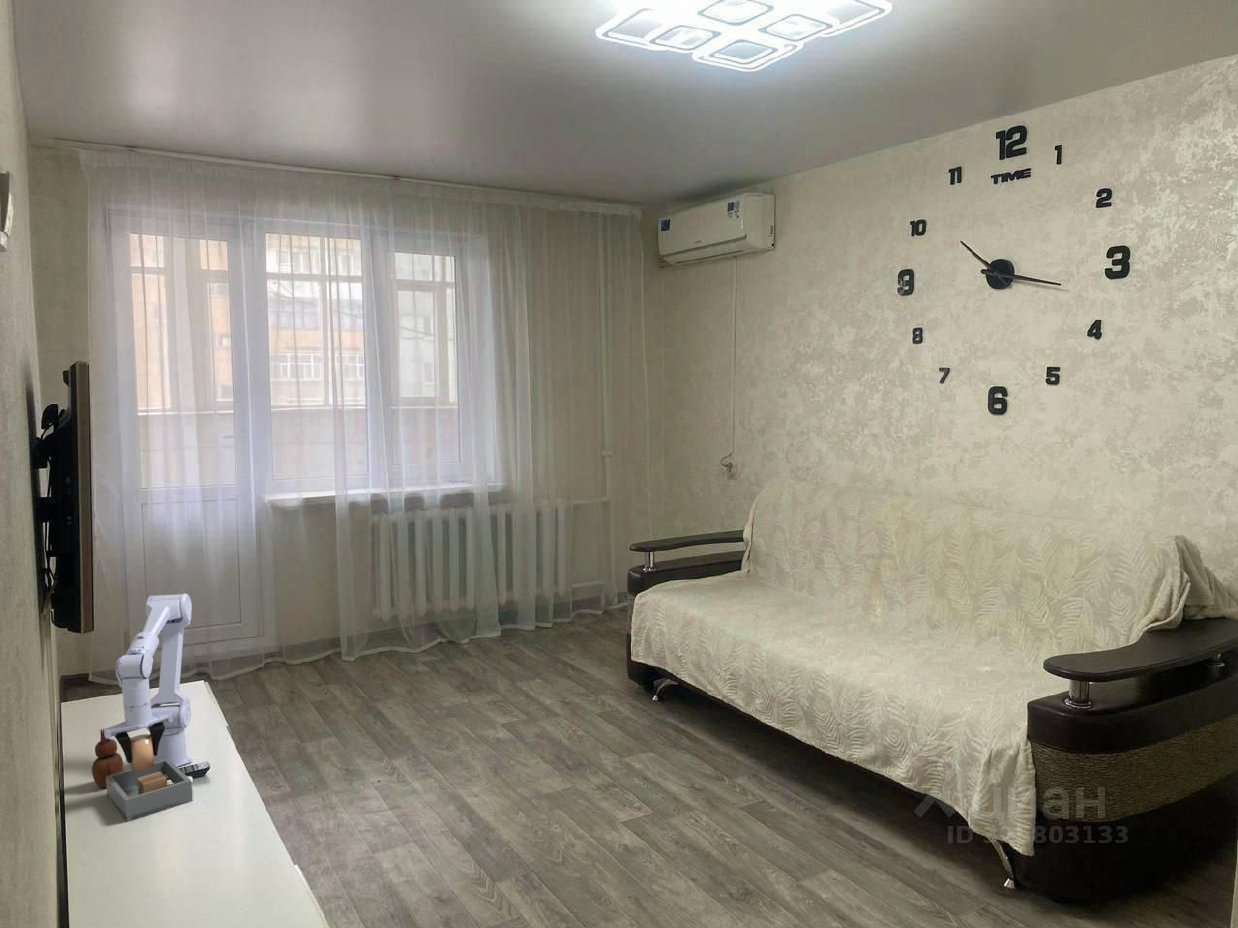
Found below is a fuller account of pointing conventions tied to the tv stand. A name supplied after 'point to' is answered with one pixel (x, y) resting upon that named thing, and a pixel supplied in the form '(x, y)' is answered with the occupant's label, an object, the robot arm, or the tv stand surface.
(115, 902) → the tv stand surface
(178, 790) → the tote
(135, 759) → the terracotta cylinder
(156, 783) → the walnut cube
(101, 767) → the wooden figurine
